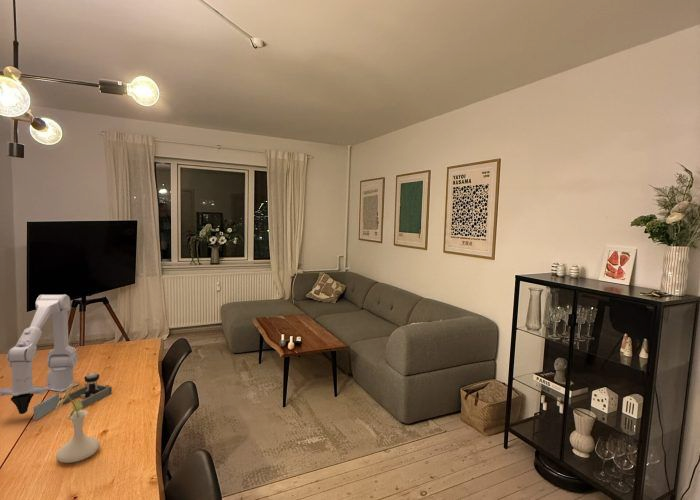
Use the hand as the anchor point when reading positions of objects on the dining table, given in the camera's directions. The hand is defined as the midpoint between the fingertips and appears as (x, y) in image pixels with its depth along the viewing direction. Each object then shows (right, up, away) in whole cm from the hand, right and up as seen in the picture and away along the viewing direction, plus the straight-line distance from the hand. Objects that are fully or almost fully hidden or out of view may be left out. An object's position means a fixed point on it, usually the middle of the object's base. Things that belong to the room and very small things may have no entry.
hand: (23, 412), depth 137 cm
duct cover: (+5, -2, +5) cm, 7 cm away
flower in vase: (+35, -5, -20) cm, 41 cm away
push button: (+12, -2, +18) cm, 22 cm away
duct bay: (+12, -2, +16) cm, 20 cm away
